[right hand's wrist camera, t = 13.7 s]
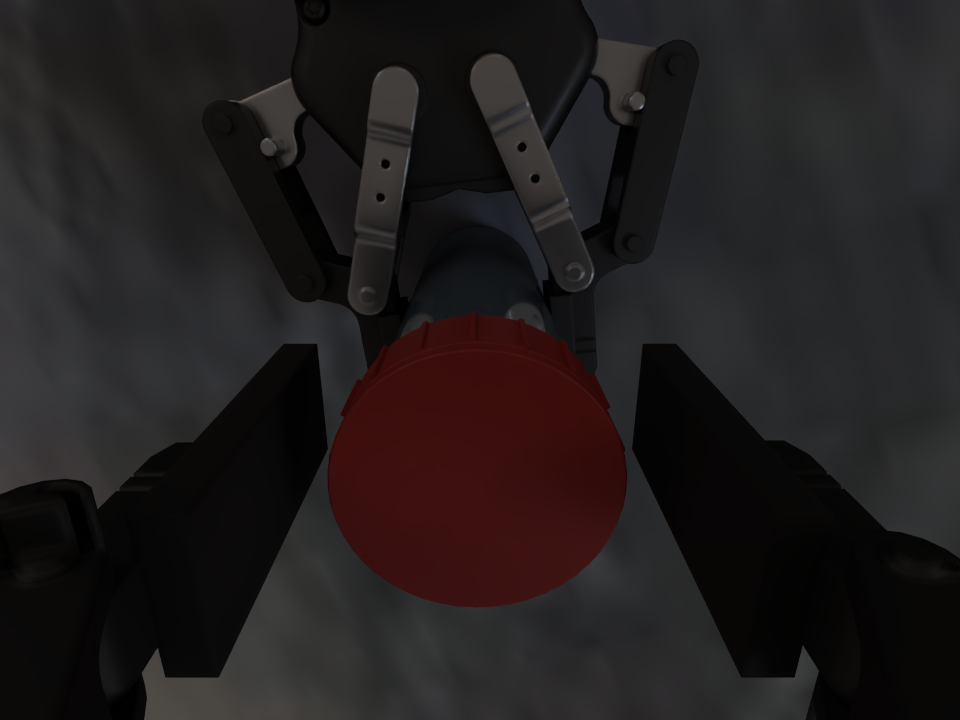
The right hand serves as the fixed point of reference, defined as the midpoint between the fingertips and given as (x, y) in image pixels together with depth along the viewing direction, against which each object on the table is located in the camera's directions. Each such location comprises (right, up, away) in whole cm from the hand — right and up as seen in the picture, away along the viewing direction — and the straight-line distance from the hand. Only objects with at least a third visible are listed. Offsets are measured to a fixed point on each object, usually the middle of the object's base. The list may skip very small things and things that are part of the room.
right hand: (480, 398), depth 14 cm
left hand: (0, 0, +7) cm, 7 cm away
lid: (0, -1, -3) cm, 3 cm away
